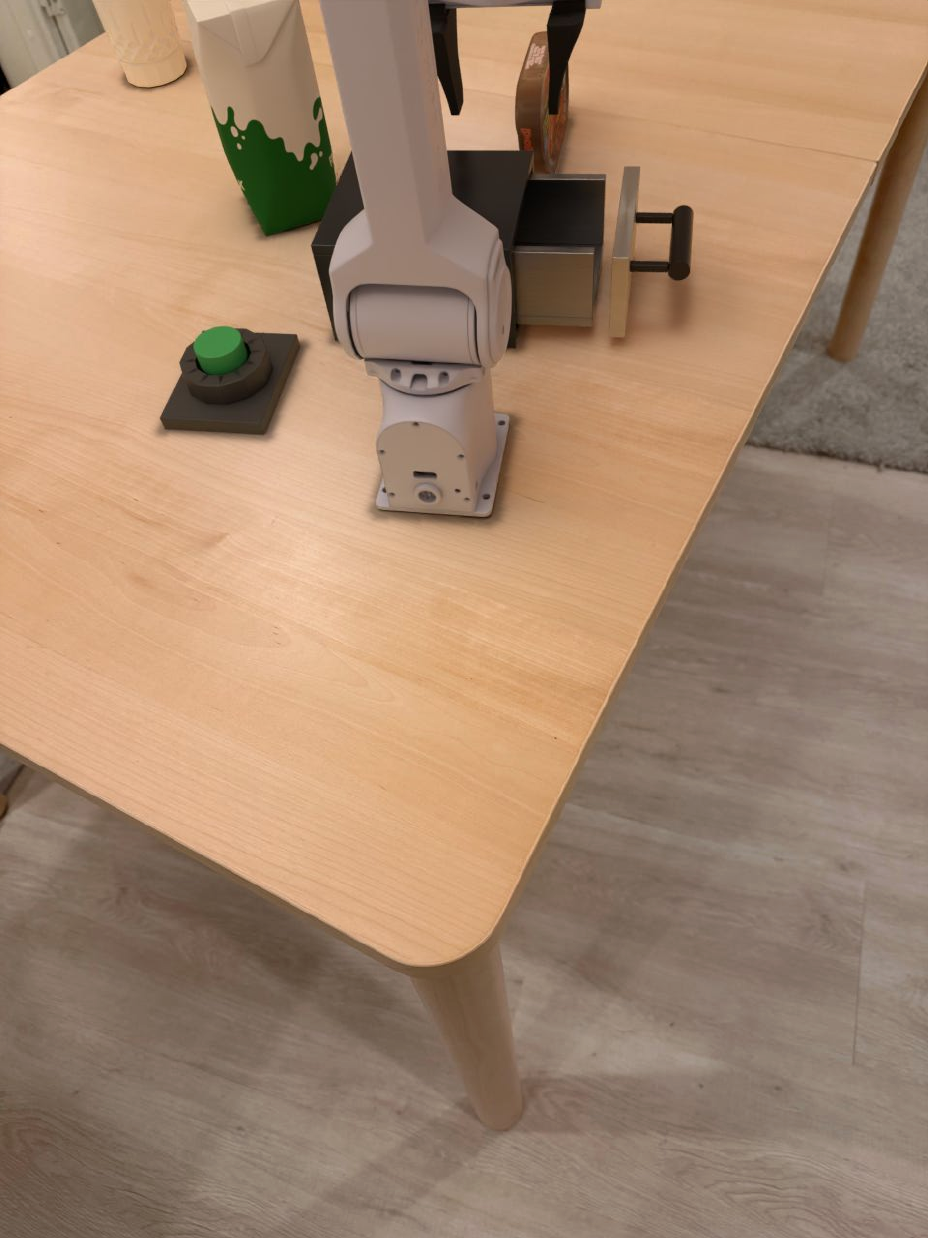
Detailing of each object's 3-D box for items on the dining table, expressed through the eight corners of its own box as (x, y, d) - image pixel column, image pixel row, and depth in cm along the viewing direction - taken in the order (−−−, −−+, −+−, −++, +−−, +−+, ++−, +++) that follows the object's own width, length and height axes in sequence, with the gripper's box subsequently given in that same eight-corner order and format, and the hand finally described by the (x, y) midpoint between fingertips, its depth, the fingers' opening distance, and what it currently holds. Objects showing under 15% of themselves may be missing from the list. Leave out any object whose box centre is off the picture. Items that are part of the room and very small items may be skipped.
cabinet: (536, 249, 78) (533, 149, 71) (516, 348, 71) (510, 249, 64) (370, 245, 81) (351, 149, 74) (335, 341, 74) (310, 245, 67)
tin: (548, 193, 83) (546, 97, 76) (514, 192, 83) (509, 96, 76) (571, 105, 91) (572, 10, 84) (540, 105, 91) (537, 11, 84)
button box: (264, 435, 69) (253, 405, 66) (165, 429, 70) (150, 399, 68) (300, 345, 74) (291, 314, 72) (207, 342, 75) (194, 311, 73)
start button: (239, 377, 69) (232, 358, 67) (194, 375, 69) (186, 356, 68) (253, 344, 71) (247, 326, 69) (209, 343, 71) (202, 324, 70)
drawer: (688, 246, 75) (698, 166, 69) (683, 339, 69) (693, 259, 63) (473, 242, 78) (465, 165, 73) (449, 331, 72) (439, 253, 66)
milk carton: (353, 216, 84) (300, -38, 67) (257, 245, 82) (178, -5, 66) (327, 169, 88) (271, -78, 72) (235, 196, 87) (158, -49, 71)
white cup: (109, 88, 102) (68, -14, 94) (142, 53, 106) (107, -48, 98) (172, 92, 100) (136, -12, 92) (204, 56, 104) (172, -46, 96)
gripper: (609, -130, 62) (603, 80, 73) (399, -120, 64) (424, 83, 76) (600, -87, 58) (595, 128, 69) (377, -78, 61) (407, 129, 72)
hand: (505, 108), depth 72 cm, fingers open, 7 cm apart
